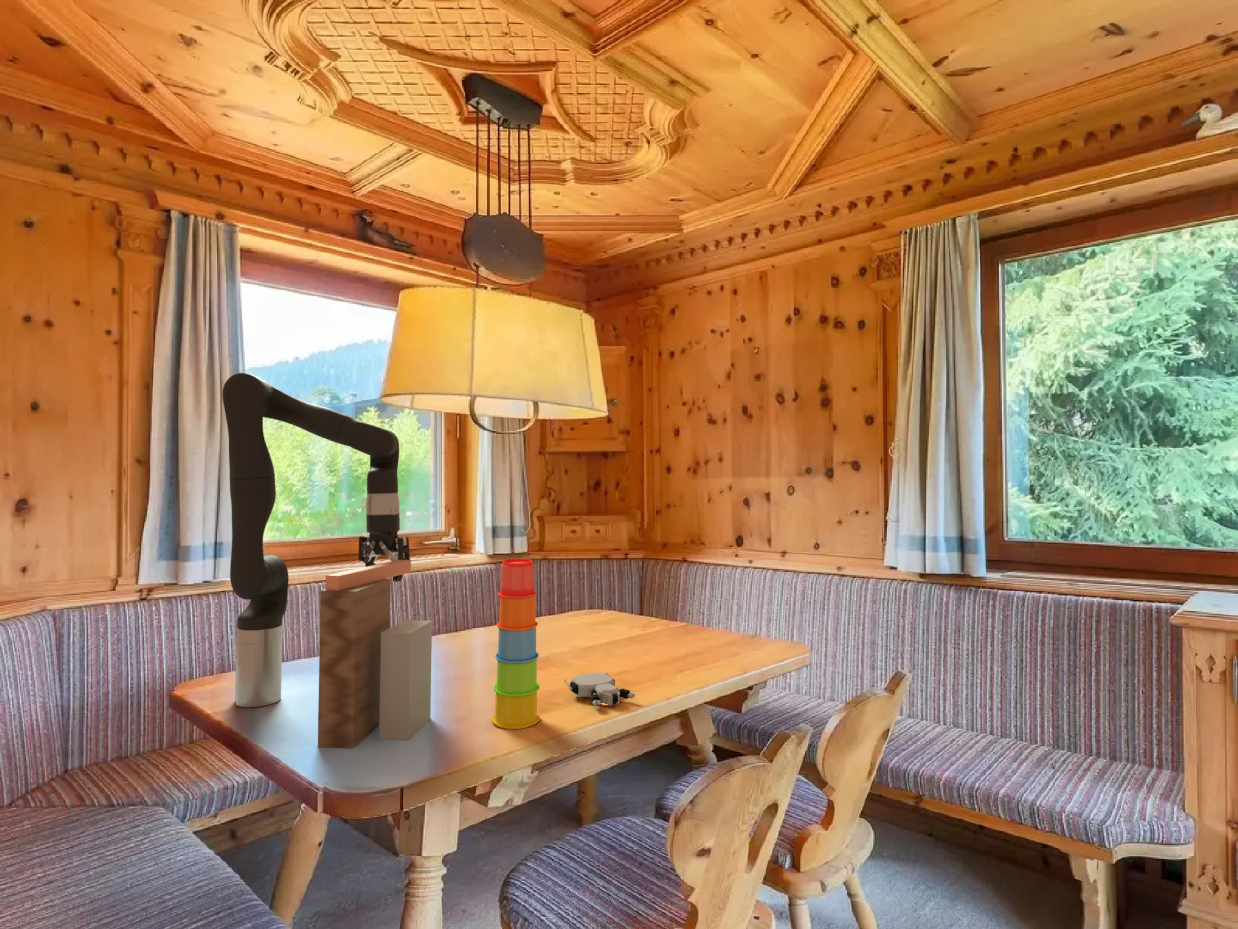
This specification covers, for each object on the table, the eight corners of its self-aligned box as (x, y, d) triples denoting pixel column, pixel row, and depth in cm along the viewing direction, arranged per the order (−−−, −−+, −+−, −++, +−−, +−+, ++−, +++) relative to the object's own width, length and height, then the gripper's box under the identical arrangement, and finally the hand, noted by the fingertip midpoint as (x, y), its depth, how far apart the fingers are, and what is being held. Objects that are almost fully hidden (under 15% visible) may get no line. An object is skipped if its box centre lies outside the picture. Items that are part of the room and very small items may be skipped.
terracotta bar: (325, 589, 131) (325, 575, 131) (400, 571, 156) (400, 559, 156) (337, 590, 130) (338, 576, 130) (410, 572, 155) (411, 560, 155)
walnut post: (317, 746, 130) (320, 590, 130) (356, 717, 145) (359, 578, 146) (352, 748, 129) (355, 591, 130) (388, 718, 145) (390, 578, 145)
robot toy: (638, 708, 156) (604, 686, 169) (639, 688, 156) (605, 668, 169) (593, 717, 150) (561, 694, 162) (594, 697, 149) (561, 675, 162)
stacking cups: (549, 719, 146) (551, 558, 146) (517, 733, 137) (519, 563, 138) (514, 709, 152) (516, 555, 152) (481, 722, 143) (483, 559, 144)
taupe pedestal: (379, 739, 134) (381, 632, 134) (403, 717, 146) (405, 620, 146) (408, 740, 133) (410, 633, 134) (430, 718, 145) (431, 620, 146)
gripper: (349, 513, 161) (350, 581, 161) (393, 513, 154) (394, 584, 154) (373, 511, 168) (374, 576, 167) (416, 511, 161) (418, 579, 161)
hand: (384, 580), depth 161 cm, fingers open, 8 cm apart
